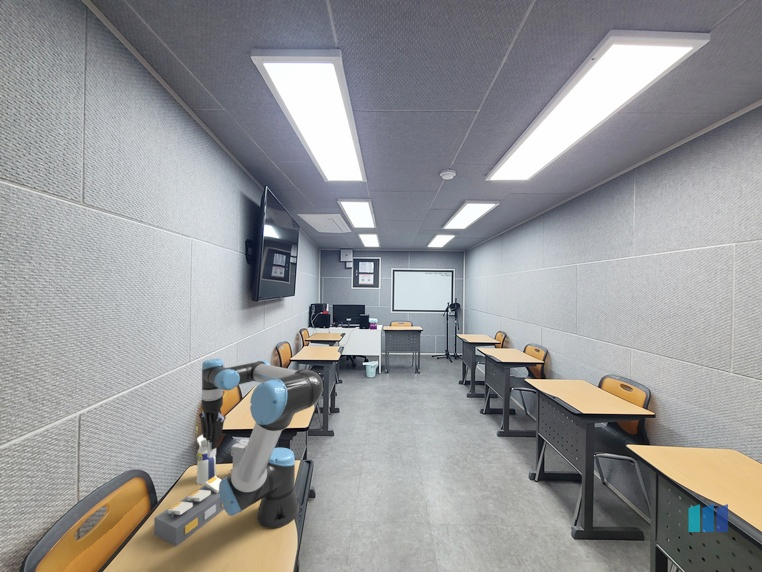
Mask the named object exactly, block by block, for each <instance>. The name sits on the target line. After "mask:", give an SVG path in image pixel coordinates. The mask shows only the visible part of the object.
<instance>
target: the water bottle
mask: <svg viewBox="0 0 762 572" xmlns="http://www.w3.org/2000/svg"><path fill="white" fill-rule="evenodd" d="M198 431H199V429H198V426H196V427H195V433H196V434H198ZM196 442H197V444H196V445H198V446H199V447H198V450H197V454H196V459H197V462H196V463H197V465H196V466H197V467H196V468H197V469H196V484H197V485H205V482H206V481H208V480H210V479H211V478H213V477H214V476H216V477H217V470H216V469H217V467H216V464H217V463H216V459H217V458H216V455H215V456H213V457H211V458H208V457H207V440H206V438H203V434H201V435H199V436H198V437H197V438H196Z"/></svg>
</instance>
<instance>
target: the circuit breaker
mask: <svg viewBox="0 0 762 572" xmlns="http://www.w3.org/2000/svg"><path fill="white" fill-rule="evenodd" d="M249 439H250V438H241V439H240V440H239V441H238V442H236V443H234V444H233V445H231V450H230V456H231V457H232V468H231V469H230V474H231V473H232V470H233V468H234V467H235V466H236V464H237V463H239V462H240V461H241V460H242V457H243V454H244V452H245V449H246V447H247V444H248V441H249Z"/></svg>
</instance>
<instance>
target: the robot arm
mask: <svg viewBox="0 0 762 572" xmlns="http://www.w3.org/2000/svg"><path fill="white" fill-rule="evenodd" d="M224 364H225V363H224V361H223V359H222V358H212V359H211V358H209V359H207V360H204V361H203V362H202V365H201V399H202V400H201V409H202V412H201V413H199V414H198V416H199V419H200V424H201V426H200V427H201V431H202V432H201V433H202V435H203V438H206V440H207V457H208V458H211V457H213V456H215V457H216V456H217V447H218V445H217V444H218V440H220V439H221V438H222V434H223V429H224V423H225V421H226V419H227V418H226V417H227V416H225V415H222V410H221V408H222V407H223V404H224V397H223V396H224V395H223V394H224V393H223V392H224V391H232V390H234V389H235V388H236V387H237V386H239V385H243V384H247V383H253V382H255V383H259V384H257V386H256V387H255V388H254V390H253V392H252V393H251V396H250V402H249V404H250V406H249V410H250V414H251V417H252V419H253V420H254V426H253V428H252V431H251V434H250V437H249V438H248V439H249V441H248V444H247V447H246V449H245V452H244V454H243V457H242V460H241V461H240V462H239V463H237V464H236V466H235V467H234V468H233V467H232V468H233V470H232V473H231V472H230V475H229V476H225V477H224V478H223V480H221V481H220V484H219V494H220V498H221V502H222V505H223V507H224V511H225V513H227V515H228V516H231V517H232V516H235V515H237V514H239V513H242V512H243V511H244V510H246V509H247V508H249V507H251V506H252V505H254V504H255V503H257V502H259V501H260V503H259V506H258V509H257V516H256V517H257V523H258V524H259V525H260V526H261V527H262V528H266V529H276V528H278V529H279V528H281V527H283V526H286V525H288V524H289V523H291V522H292V521H293V520H295V518H296V517H297V516H298V514H299V511H300V501H299V500H300V499H299V498H298V495H297V492H296V489H295V482H296V481H295V476H296V475H295V472H296V471H295V469H296V468H295V467H296V466H295V465H296V461H295V454H294V452H293V450H291V449H290V448H286V447H276V445H277V443H278V440H279V438H280V436H281V434H282V431H283V430H285V429H287V428H288V427H289V426H290V425H291V422H292V420H293V418H294V416H295V414H297V413H299V412H302V411H305V410H306V409H309V408H311V407H313V406H315V405H316V404H317V403H318V402H319V400H320V399H321V397H322V395H323V392H324V383H323V379H322V377H321V376H320V375H319V374H318V373H317V372H315V371H314V370H311V369H306V368H300V369H298V370H297V369H296V370H295V369H290V368H285V367H280V366H276V365H271V364H270V362H269V361H268V360H259V361H255V362H250V363H245V364H240V365H239V364H238V365H234V366H230V367H225V365H224Z"/></svg>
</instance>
